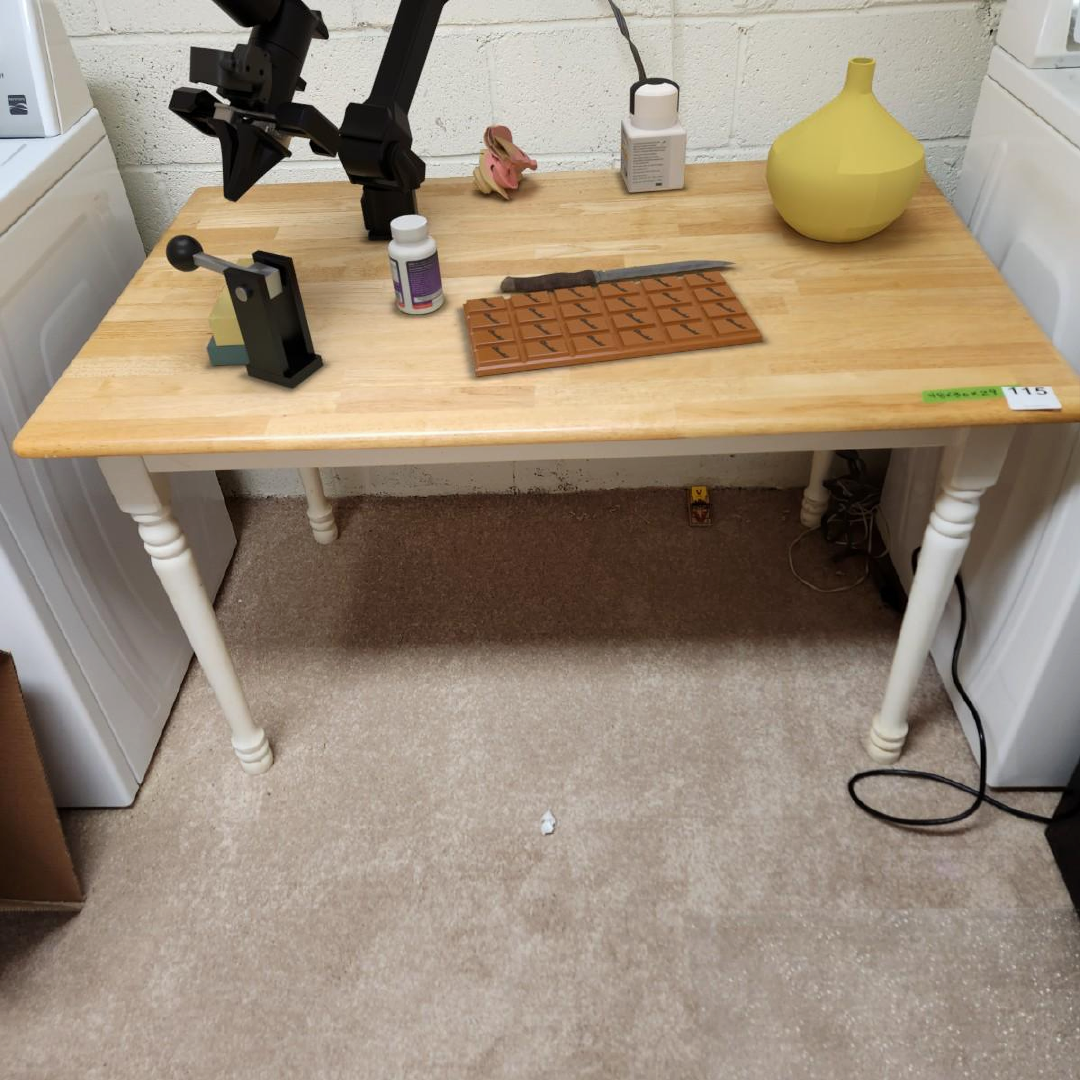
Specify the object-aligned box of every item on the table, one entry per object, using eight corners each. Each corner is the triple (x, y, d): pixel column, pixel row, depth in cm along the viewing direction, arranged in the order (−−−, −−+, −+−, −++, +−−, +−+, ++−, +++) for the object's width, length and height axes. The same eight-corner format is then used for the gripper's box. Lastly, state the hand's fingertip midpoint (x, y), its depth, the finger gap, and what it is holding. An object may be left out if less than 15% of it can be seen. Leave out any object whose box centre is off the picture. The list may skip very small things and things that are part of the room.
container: (620, 173, 132) (621, 75, 124) (673, 168, 133) (678, 71, 124) (628, 193, 127) (630, 93, 118) (684, 189, 127) (690, 88, 118)
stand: (244, 377, 95) (212, 271, 88) (283, 350, 99) (255, 246, 91) (289, 391, 93) (260, 283, 85) (326, 362, 97) (302, 256, 89)
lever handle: (162, 272, 93) (153, 238, 91) (188, 257, 96) (180, 224, 93) (264, 310, 89) (257, 276, 87) (288, 294, 91) (283, 260, 89)
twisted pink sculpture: (475, 211, 126) (446, 147, 126) (507, 219, 135) (481, 160, 135) (529, 175, 122) (499, 108, 122) (559, 186, 131) (532, 124, 130)
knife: (729, 259, 110) (730, 248, 110) (738, 271, 108) (739, 261, 107) (498, 285, 108) (497, 274, 107) (502, 299, 106) (501, 288, 105)
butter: (245, 284, 107) (238, 258, 104) (273, 282, 107) (266, 256, 104) (216, 346, 96) (207, 318, 94) (246, 344, 96) (238, 317, 94)
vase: (847, 273, 106) (881, 97, 93) (729, 226, 117) (744, 63, 104) (940, 226, 114) (983, 58, 102) (821, 186, 125) (846, 30, 112)
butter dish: (286, 298, 108) (281, 281, 107) (260, 363, 97) (255, 345, 96) (242, 300, 108) (237, 283, 107) (211, 366, 98) (205, 347, 96)
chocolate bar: (463, 309, 104) (462, 297, 103) (720, 279, 107) (721, 267, 106) (476, 376, 93) (475, 364, 93) (761, 341, 96) (763, 329, 95)
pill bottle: (451, 296, 107) (441, 214, 100) (432, 318, 103) (421, 234, 97) (409, 290, 108) (396, 209, 102) (389, 312, 104) (374, 229, 98)
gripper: (152, -1, 91) (104, 150, 92) (296, 13, 84) (245, 176, 85) (228, 64, 102) (186, 199, 102) (363, 81, 95) (317, 226, 95)
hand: (229, 199), depth 96 cm, fingers closed
